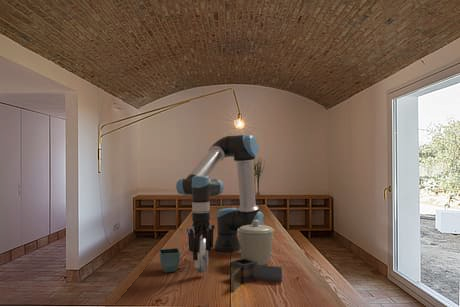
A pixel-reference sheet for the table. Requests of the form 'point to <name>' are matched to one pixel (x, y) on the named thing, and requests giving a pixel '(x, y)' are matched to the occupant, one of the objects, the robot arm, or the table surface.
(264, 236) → the canister
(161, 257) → the flower pot
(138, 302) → the table surface
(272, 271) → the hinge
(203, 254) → the hinge pin
